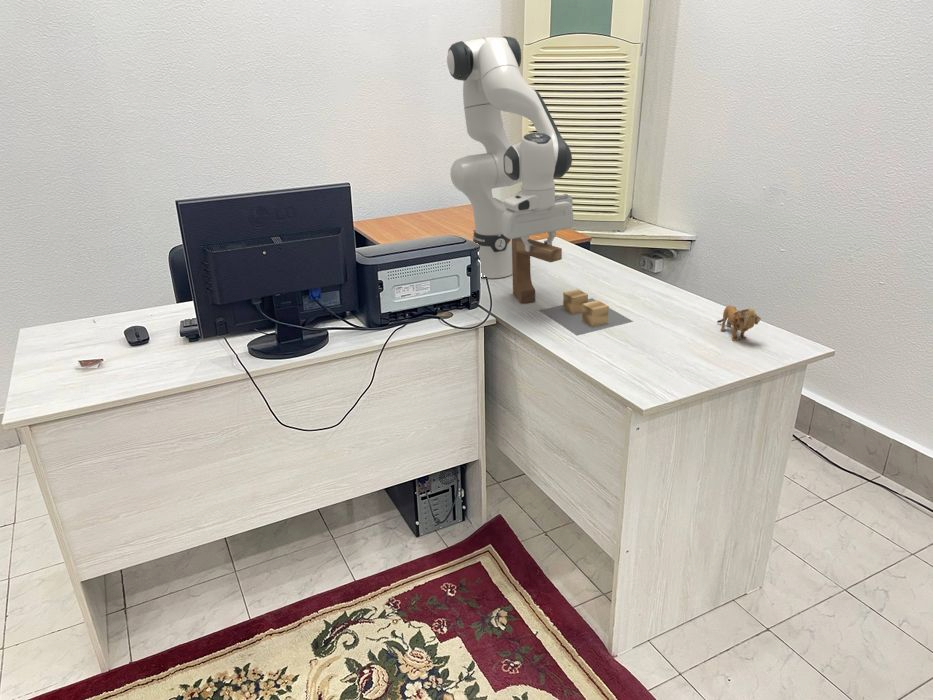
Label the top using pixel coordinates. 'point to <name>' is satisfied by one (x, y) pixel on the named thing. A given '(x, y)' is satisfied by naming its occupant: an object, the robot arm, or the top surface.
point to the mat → (575, 320)
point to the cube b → (595, 313)
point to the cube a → (574, 301)
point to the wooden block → (521, 276)
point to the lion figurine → (739, 320)
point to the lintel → (540, 250)
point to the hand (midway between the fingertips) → (538, 249)
